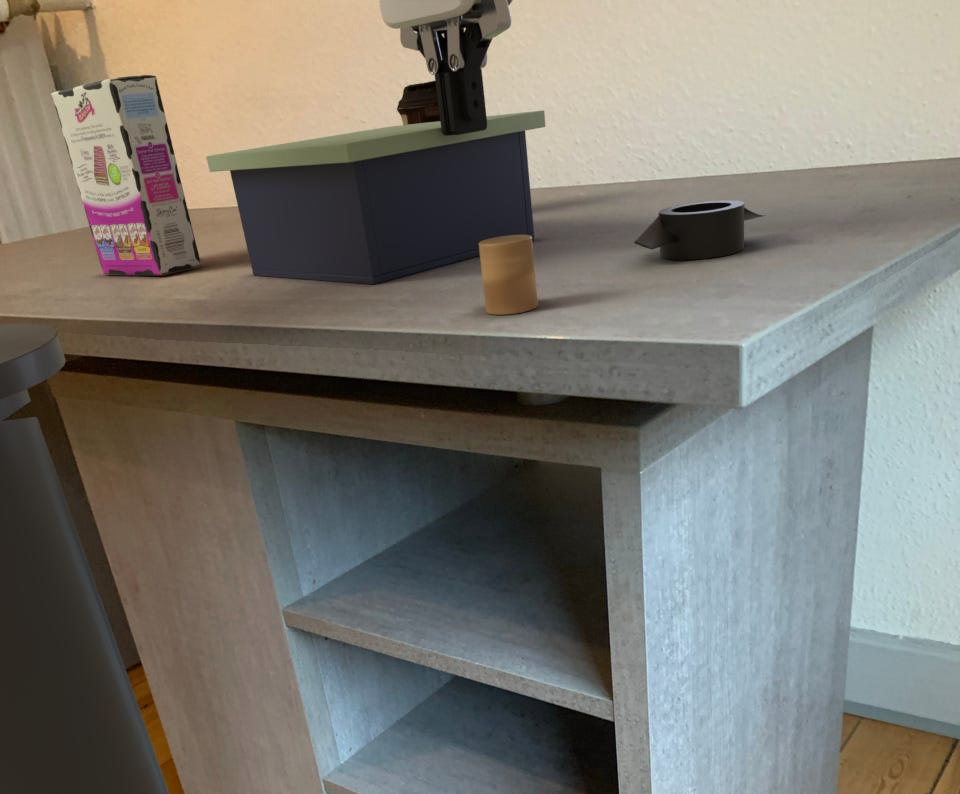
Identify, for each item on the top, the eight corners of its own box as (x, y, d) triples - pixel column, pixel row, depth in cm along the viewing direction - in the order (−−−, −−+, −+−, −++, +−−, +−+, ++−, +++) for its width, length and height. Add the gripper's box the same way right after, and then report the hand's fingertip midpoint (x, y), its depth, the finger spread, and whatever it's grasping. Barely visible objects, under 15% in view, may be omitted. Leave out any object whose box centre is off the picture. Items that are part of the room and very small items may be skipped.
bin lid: (349, 162, 68) (346, 143, 68) (209, 171, 82) (205, 156, 81) (545, 126, 79) (544, 110, 79) (393, 140, 93) (391, 126, 92)
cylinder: (511, 316, 58) (504, 245, 56) (475, 313, 60) (467, 244, 58) (548, 304, 60) (542, 234, 58) (512, 301, 62) (505, 234, 60)
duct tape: (787, 251, 65) (788, 204, 64) (637, 269, 66) (635, 223, 65) (760, 235, 72) (761, 192, 71) (624, 252, 73) (622, 210, 71)
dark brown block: (511, 213, 103) (497, 71, 96) (458, 227, 98) (439, 79, 91) (451, 215, 108) (434, 80, 102) (397, 228, 103) (376, 88, 97)
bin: (373, 284, 74) (353, 160, 70) (253, 275, 86) (229, 169, 82) (535, 240, 84) (525, 129, 80) (406, 238, 96) (392, 141, 91)
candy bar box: (205, 266, 95) (158, 73, 87) (162, 277, 92) (108, 77, 84) (144, 265, 102) (94, 86, 94) (101, 275, 99) (46, 91, 91)
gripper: (317, -154, 67) (365, 145, 76) (462, -220, 57) (497, 133, 66) (402, -150, 71) (438, 132, 80) (551, -212, 61) (573, 120, 70)
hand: (465, 132), depth 73 cm, fingers closed
